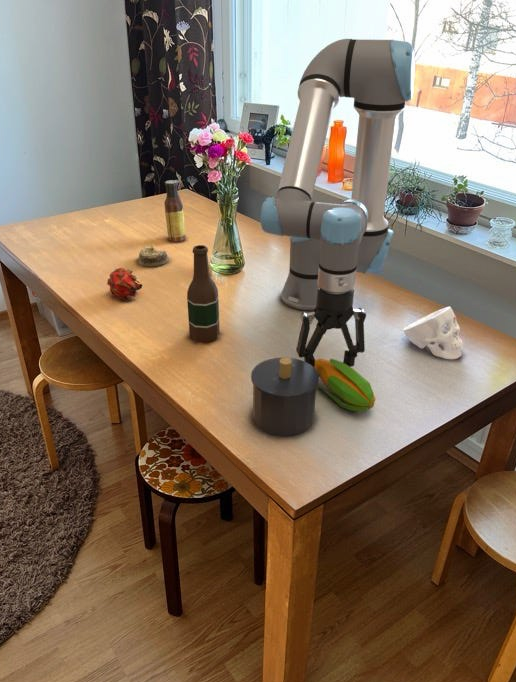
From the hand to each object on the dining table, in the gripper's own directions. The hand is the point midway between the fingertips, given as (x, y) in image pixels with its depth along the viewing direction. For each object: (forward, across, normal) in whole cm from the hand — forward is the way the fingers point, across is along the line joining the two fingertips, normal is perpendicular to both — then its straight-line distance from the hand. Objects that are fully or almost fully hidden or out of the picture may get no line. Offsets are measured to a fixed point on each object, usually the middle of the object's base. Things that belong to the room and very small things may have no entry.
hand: (327, 379), depth 133 cm
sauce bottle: (+2, -31, +94) cm, 99 cm away
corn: (+2, +1, -4) cm, 5 cm away
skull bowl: (+2, +30, +12) cm, 32 cm away
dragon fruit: (+1, -47, +52) cm, 70 cm away
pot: (+1, -12, -10) cm, 16 cm away
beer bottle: (+2, -26, +26) cm, 37 cm away
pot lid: (-9, -12, -10) cm, 18 cm away
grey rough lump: (+2, -39, +76) cm, 85 cm away
